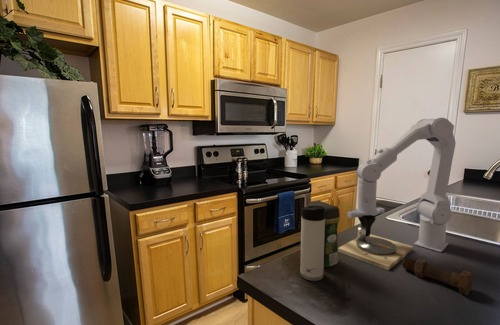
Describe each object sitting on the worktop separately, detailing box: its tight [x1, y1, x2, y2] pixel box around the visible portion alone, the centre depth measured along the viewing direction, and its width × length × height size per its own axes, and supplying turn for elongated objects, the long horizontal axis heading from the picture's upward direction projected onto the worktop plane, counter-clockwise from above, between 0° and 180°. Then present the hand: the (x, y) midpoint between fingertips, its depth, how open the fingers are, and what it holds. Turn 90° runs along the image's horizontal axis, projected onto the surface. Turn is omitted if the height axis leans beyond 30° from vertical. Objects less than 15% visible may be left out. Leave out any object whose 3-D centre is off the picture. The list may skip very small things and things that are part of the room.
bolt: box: [401, 257, 473, 296], centre depth 70 cm, size 6×5×15 cm
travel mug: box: [299, 206, 325, 282], centre depth 71 cm, size 6×7×20 cm
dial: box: [356, 226, 396, 255], centre depth 87 cm, size 12×12×5 cm
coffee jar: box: [307, 200, 341, 268], centre depth 79 cm, size 10×8×19 cm
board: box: [338, 233, 414, 271], centre depth 87 cm, size 20×16×2 cm
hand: (365, 235), depth 91 cm, fingers closed, pressing on dial
